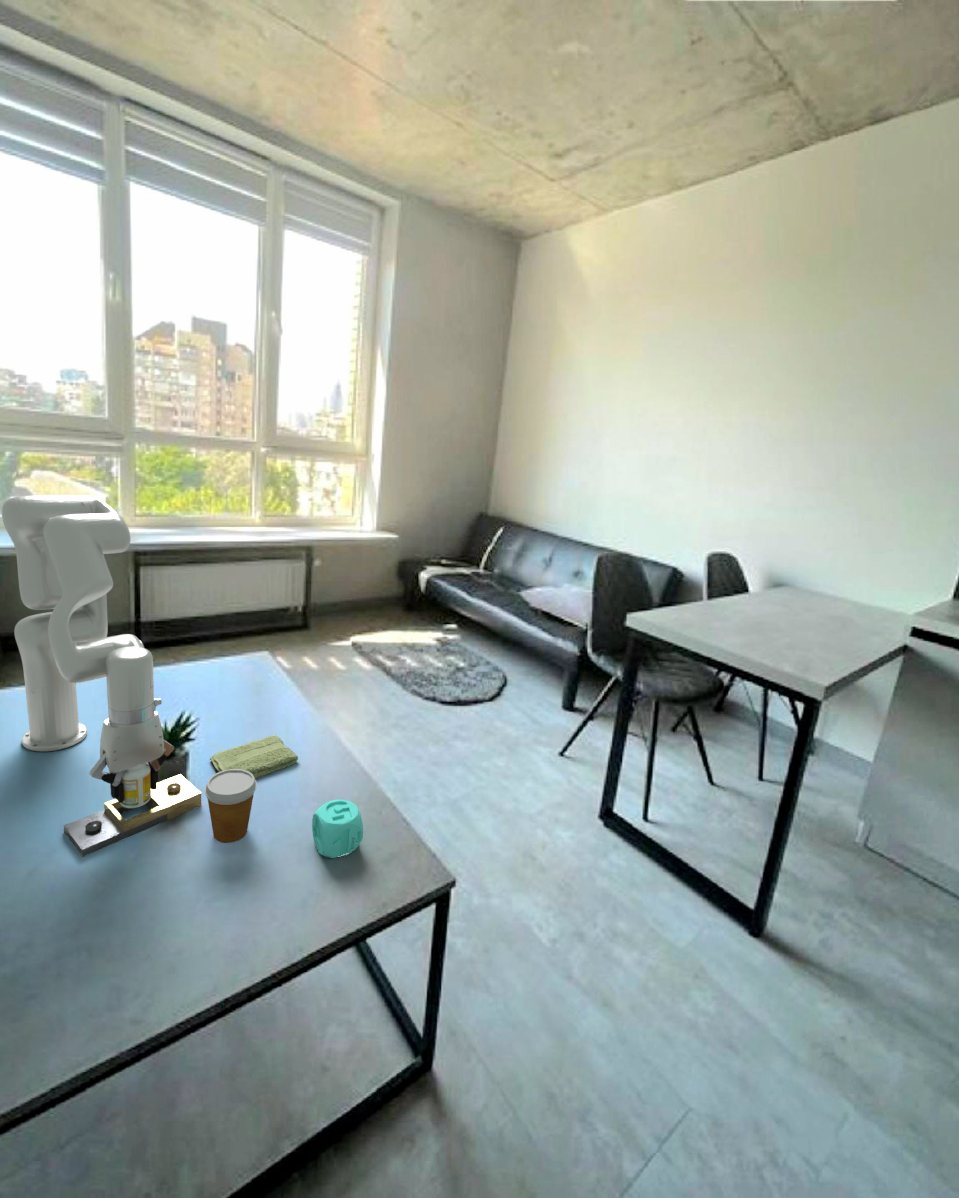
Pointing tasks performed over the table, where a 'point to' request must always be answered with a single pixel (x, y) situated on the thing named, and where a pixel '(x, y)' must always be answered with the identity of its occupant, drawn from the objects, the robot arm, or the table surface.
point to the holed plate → (113, 828)
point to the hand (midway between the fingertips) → (135, 791)
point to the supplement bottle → (136, 786)
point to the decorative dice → (337, 828)
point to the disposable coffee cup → (230, 803)
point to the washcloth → (256, 757)
